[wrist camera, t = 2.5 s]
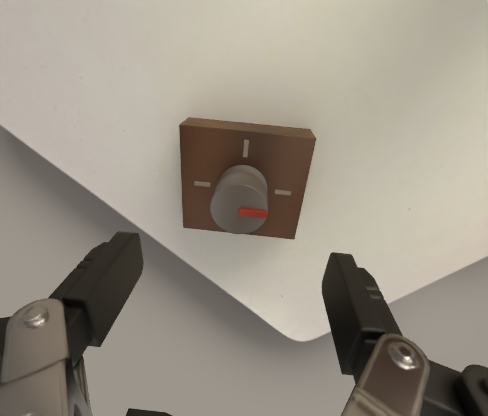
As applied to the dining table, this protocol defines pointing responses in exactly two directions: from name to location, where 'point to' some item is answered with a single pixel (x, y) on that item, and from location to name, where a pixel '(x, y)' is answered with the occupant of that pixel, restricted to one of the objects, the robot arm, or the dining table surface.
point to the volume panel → (251, 154)
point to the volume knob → (240, 200)
